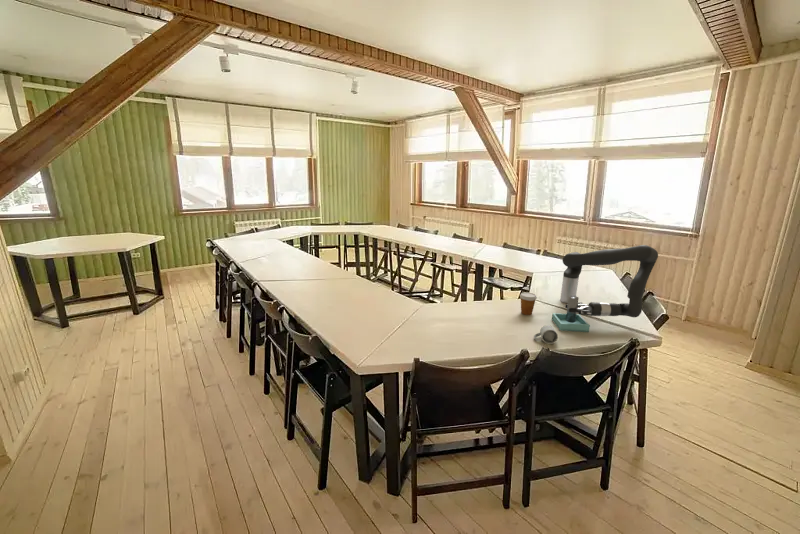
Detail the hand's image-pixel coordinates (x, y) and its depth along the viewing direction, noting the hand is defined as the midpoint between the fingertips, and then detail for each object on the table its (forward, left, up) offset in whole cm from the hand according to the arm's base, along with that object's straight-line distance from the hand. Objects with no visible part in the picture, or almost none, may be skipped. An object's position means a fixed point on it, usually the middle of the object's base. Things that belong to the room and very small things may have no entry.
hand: (567, 308), depth 198 cm
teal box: (0, +3, -10) cm, 11 cm away
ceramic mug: (+20, -16, -11) cm, 28 cm away
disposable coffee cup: (-16, -17, -11) cm, 26 cm away
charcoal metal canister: (0, +3, -7) cm, 8 cm away
